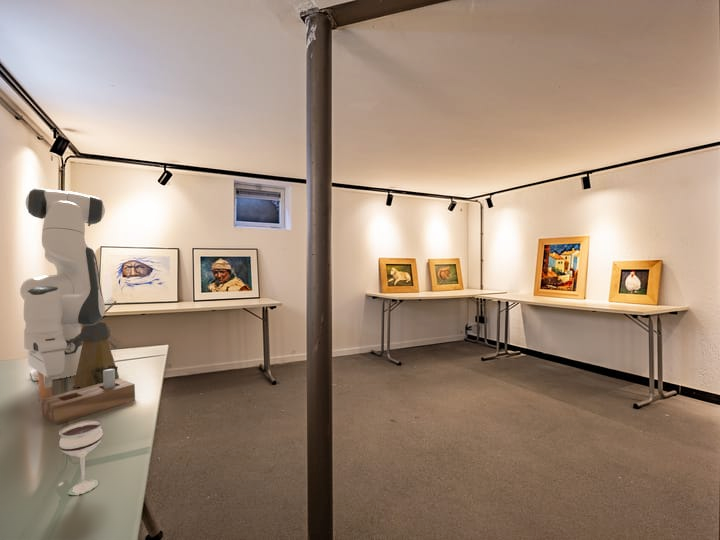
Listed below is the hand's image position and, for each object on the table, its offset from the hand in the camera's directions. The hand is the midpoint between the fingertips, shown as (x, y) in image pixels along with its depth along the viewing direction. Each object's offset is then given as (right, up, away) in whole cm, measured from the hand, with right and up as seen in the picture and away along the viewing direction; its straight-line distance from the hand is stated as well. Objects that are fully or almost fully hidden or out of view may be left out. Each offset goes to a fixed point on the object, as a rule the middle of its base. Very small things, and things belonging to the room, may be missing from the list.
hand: (45, 385), depth 108 cm
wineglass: (+42, -8, -38) cm, 57 cm away
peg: (0, -5, 0) cm, 5 cm away
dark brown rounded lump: (+10, -6, +12) cm, 17 cm away
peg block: (+15, -6, -1) cm, 16 cm away
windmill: (0, -6, +22) cm, 23 cm away
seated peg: (+17, -6, +3) cm, 19 cm away
